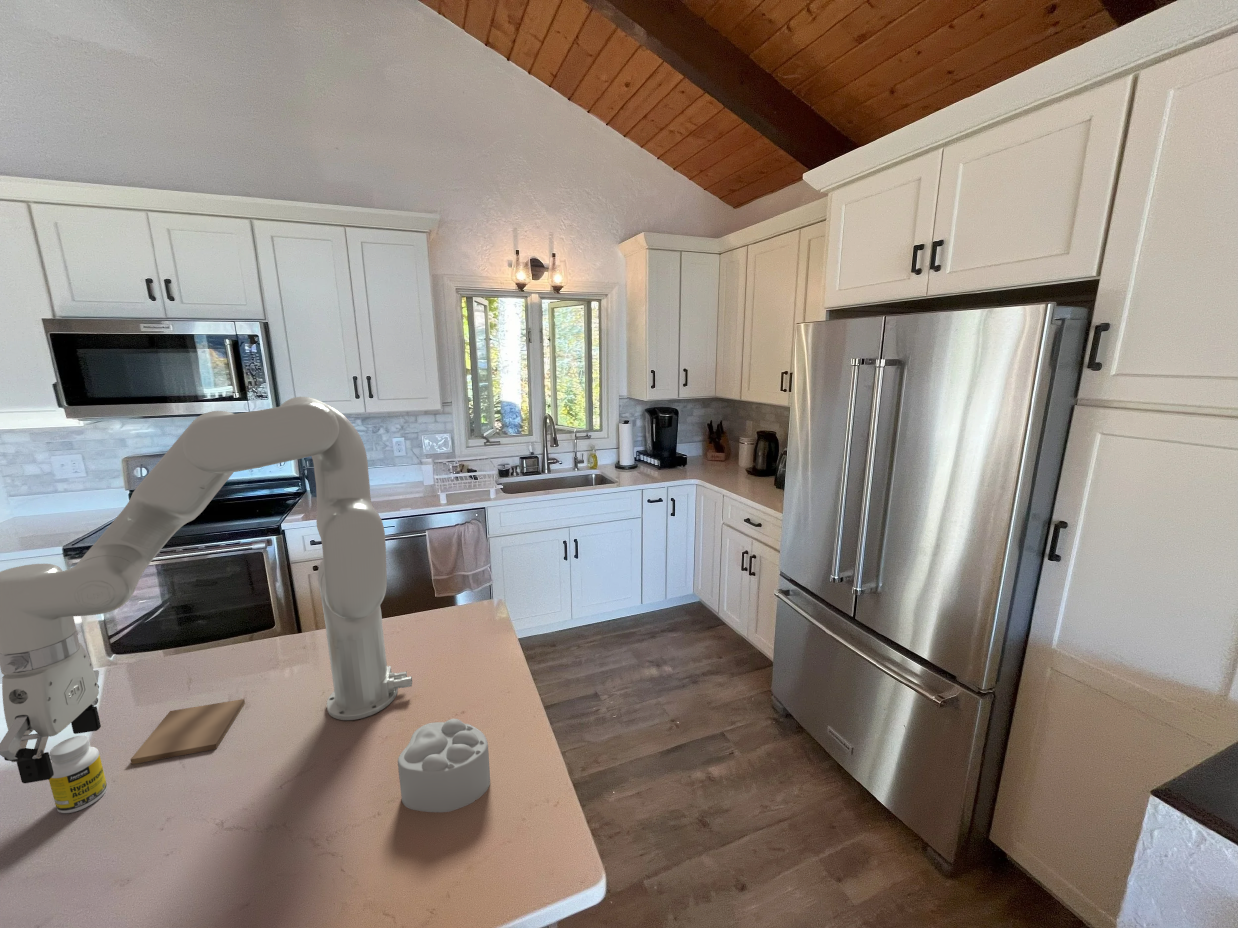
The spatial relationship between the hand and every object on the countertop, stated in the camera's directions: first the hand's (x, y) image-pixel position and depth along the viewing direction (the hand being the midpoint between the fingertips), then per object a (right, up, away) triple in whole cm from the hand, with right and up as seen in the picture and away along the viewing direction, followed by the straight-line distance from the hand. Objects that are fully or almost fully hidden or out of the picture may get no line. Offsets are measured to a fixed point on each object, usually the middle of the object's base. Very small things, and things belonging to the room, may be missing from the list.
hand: (64, 753), depth 75 cm
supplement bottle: (0, -8, +2) cm, 9 cm away
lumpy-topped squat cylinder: (+56, -8, +5) cm, 57 cm away
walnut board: (+6, -5, +16) cm, 18 cm away
